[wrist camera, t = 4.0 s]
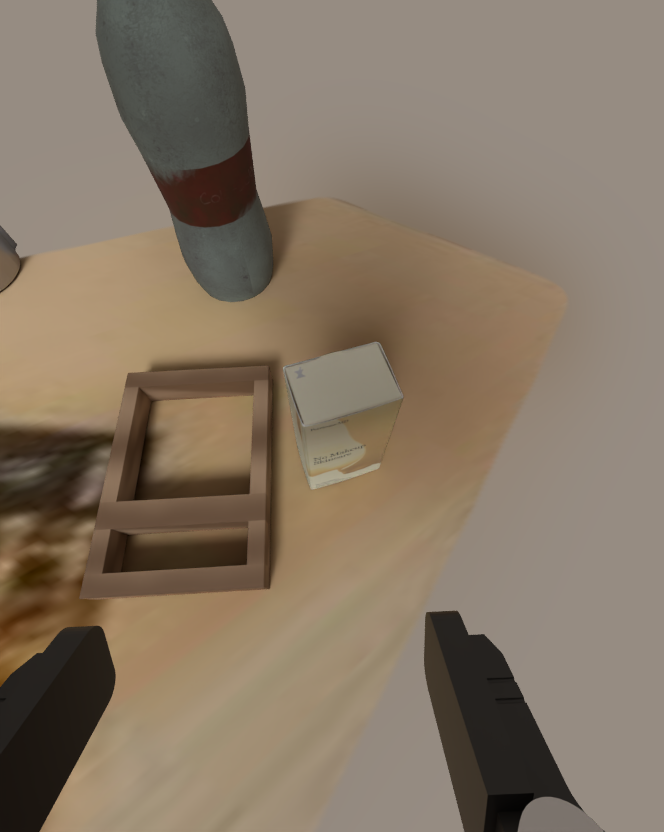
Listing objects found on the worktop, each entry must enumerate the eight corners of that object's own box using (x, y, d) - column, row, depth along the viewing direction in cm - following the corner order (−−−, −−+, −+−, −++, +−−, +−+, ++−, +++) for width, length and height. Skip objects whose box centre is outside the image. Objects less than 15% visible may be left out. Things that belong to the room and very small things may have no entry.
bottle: (190, 254, 44) (-44, -303, 17) (268, 238, 45) (164, -312, 18) (200, 315, 40) (-86, -289, 13) (286, 296, 41) (186, -301, 14)
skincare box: (310, 492, 31) (296, 431, 20) (296, 445, 33) (275, 366, 22) (383, 468, 32) (407, 397, 21) (365, 423, 34) (379, 337, 23)
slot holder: (141, 387, 36) (127, 373, 34) (272, 380, 36) (268, 365, 34) (100, 599, 28) (79, 598, 26) (269, 589, 28) (263, 587, 26)
